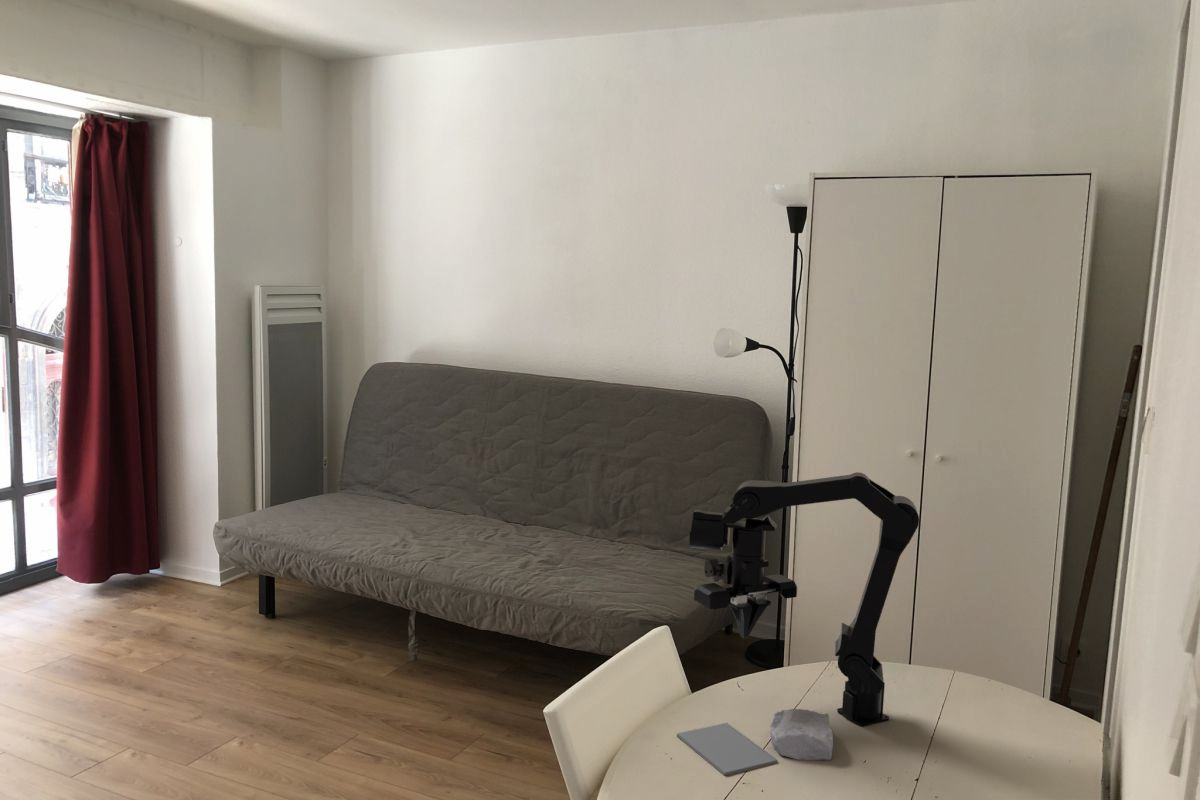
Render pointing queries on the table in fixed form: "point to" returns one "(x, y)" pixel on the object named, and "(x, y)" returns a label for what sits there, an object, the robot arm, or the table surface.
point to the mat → (726, 748)
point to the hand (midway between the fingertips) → (744, 637)
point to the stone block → (802, 734)
